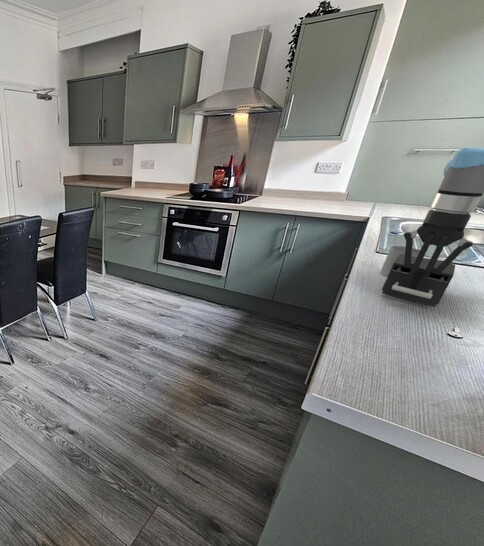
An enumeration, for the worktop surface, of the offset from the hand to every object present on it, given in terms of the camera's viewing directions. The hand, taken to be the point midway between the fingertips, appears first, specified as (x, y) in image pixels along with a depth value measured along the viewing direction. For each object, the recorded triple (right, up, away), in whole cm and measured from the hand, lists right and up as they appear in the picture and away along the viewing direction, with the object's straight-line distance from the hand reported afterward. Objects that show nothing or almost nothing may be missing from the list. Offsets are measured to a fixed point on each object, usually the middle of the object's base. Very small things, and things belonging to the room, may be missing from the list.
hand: (410, 291), depth 90 cm
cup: (+19, +4, +23) cm, 30 cm away
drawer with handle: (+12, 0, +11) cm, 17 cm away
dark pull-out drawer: (+5, -2, +5) cm, 7 cm away
